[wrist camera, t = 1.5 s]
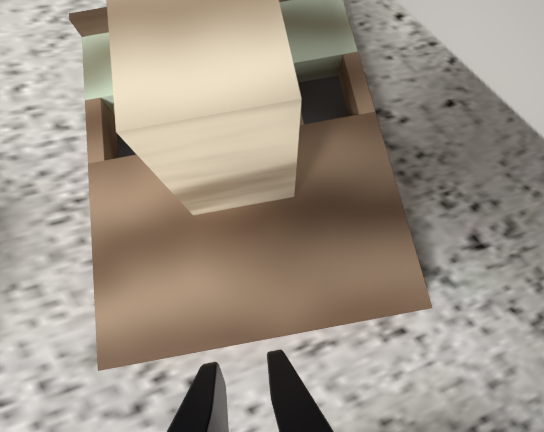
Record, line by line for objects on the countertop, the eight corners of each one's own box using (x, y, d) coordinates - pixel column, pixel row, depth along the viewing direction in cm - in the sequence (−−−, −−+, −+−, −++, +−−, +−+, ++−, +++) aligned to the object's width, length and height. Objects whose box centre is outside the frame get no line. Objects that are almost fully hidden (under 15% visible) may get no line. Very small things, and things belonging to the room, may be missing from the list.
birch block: (294, 196, 21) (301, 98, 12) (193, 215, 21) (115, 131, 12) (275, 107, 23) (268, -44, 13) (181, 124, 23) (105, -15, 13)
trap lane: (416, 308, 22) (444, 307, 18) (118, 364, 22) (82, 375, 18) (334, 14, 28) (342, -35, 24) (99, 56, 27) (69, 13, 24)
